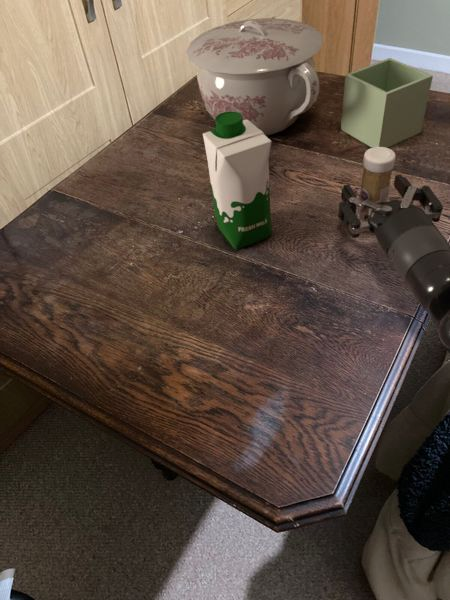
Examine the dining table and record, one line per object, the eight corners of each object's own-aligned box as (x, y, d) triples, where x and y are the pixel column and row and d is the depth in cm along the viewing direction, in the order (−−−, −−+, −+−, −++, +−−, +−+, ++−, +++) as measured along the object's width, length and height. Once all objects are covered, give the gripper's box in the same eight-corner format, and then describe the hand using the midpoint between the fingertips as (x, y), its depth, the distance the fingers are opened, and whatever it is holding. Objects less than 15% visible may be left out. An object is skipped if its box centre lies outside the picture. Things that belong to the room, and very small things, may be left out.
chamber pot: (201, 97, 121) (189, 4, 106) (314, 89, 119) (318, -8, 104) (192, 159, 102) (175, 56, 87) (326, 151, 100) (332, 43, 85)
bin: (381, 113, 108) (389, 57, 99) (420, 133, 101) (433, 75, 92) (340, 130, 105) (345, 74, 96) (378, 152, 98) (386, 94, 89)
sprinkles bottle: (349, 225, 83) (357, 154, 74) (366, 212, 85) (376, 142, 75) (372, 237, 81) (384, 165, 71) (389, 223, 83) (402, 151, 73)
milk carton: (255, 210, 89) (248, 103, 74) (279, 238, 83) (277, 127, 68) (210, 227, 87) (194, 119, 72) (233, 256, 81) (220, 146, 66)
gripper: (472, 217, 66) (417, 155, 77) (369, 237, 65) (329, 172, 76) (458, 258, 71) (409, 195, 82) (363, 278, 70) (326, 211, 81)
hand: (370, 184), depth 79 cm, fingers open, 8 cm apart
